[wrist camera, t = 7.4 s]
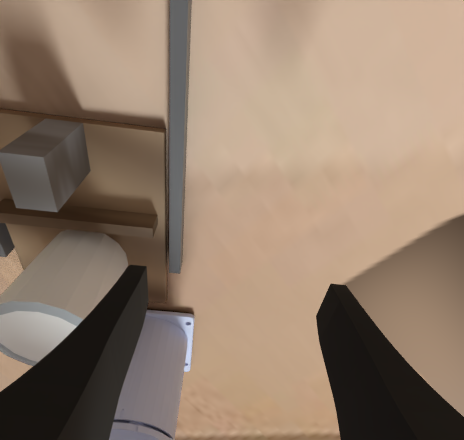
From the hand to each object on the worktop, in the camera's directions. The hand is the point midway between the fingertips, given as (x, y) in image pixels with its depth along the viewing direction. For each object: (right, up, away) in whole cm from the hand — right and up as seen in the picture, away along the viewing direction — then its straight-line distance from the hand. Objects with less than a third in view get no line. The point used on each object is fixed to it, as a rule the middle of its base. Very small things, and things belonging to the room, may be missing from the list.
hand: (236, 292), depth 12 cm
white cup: (-11, 0, +11) cm, 16 cm away
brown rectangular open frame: (-10, +3, +10) cm, 15 cm away
